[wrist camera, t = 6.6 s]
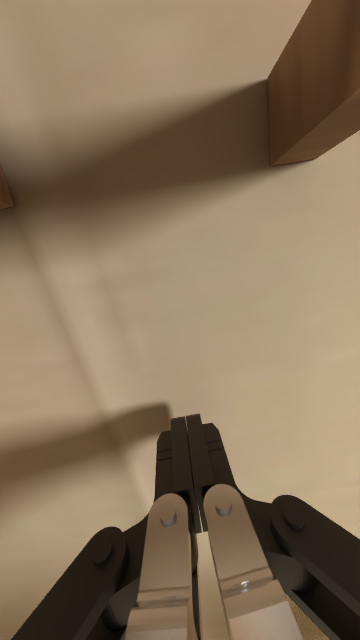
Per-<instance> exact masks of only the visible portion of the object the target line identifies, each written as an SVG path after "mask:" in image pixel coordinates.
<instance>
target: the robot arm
mask: <svg viewBox="0 0 360 640" xmlns="http://www.w3.org/2000/svg"><path fill="white" fill-rule="evenodd" d="M186 422H187V426H186ZM187 429H188V431H187ZM156 461H157V462H156V479H155V498H154V503H153V505H152V507H151V509H150V511H149V513H148V514H147V516H146V517H145V518H144V519H143V520H142V521H141V522H139V523H138V524H136V525H134V526H133V527H131V528H129V529H128V530H126V531H124V532H122V531H121V530H120V529H119V528H117V527H107V528H104V529H102V530H100V531H99V532H97V533H96V534H95V535H94V536H93V537H92V538H91V540H90V541H89V542H88V543H87V545H86V546H85V547H84V548H83V550H82V551H81V552H80V553H79V555H78V556H77V557H76V558H75V560H74V561H73V562H72V564H71V565H70V566H69V567H68V569H67V570H66V571H65V572H64V574H63V575H62V576H61V577H60V579H59V580H58V581H57V582H56V584H55V585H54V586H53V587H52V589H51V590H50V591H49V593H48V594H47V595H46V596H45V598H44V599H43V600H42V601H41V603H40V604H39V605H38V606H37V608H36V609H35V610H34V611H33V613H32V614H31V615H30V616H29V618H28V619H27V620H26V622H25V623H24V624H23V625H22V627H21V628H20V629H19V630H18V632H17V633H16V634H15V635H14V637H13V638H12V639H11V640H203V638H202V619H201V600H200V582H199V563H198V546H197V537H196V533H202V531H201V524H200V517H201V522H202V527H203V532H206V531H208V535H209V541H210V546H211V552H212V557H213V563H214V567H215V572H216V577H217V581H218V586H219V591H220V595H221V600H222V604H223V609H224V614H225V618H226V623H227V628H228V632H229V637H230V640H303V637H302V635H301V632H300V630H299V627H298V625H297V623H296V620H295V618H294V615H293V613H292V610H291V608H290V605H289V603H288V601H287V598H286V596H285V594H284V592H285V593H286V594H287V595H288V596H289V597H290V598H291V600H292V601H293V602H294V603H295V604H296V605H297V606H298V607H299V608H300V609H301V610H302V611H303V612H304V613H305V614H306V615H307V616H308V617H309V618H310V619H311V620H312V621H313V622H314V623H315V624H316V625H317V626H318V627H319V628H320V629H321V630H322V631H323V633H324V634H325V635H326V636H327V637H328V638H329V639H330V640H360V539H358V538H357V537H355V536H354V535H352V534H351V533H350V532H348V531H347V530H345V529H344V528H342V527H341V526H339V525H338V524H336V523H335V522H333V521H332V520H330V519H329V518H327V517H326V516H325V515H323V514H322V513H320V512H319V511H317V510H316V509H314V508H313V507H311V506H310V505H308V504H307V503H305V502H304V501H302V500H301V499H299V498H297V497H295V496H291V495H281V496H279V497H277V498H275V499H274V501H273V502H272V504H271V503H266V502H261V501H256V500H253V499H250V498H248V497H247V496H245V495H244V494H243V493H242V492H241V491H240V490H239V489H238V487H237V486H236V484H235V481H234V478H233V475H232V472H231V468H230V465H229V462H228V459H227V455H226V452H225V450H224V446H223V443H222V439H221V436H220V433H219V430H218V429H217V428H216V427H215V426H214V424H213V423H208V424H202V422H201V417H200V414H194V415H189V416H186V420H185V416H184V417H178V418H172V419H171V430H169V431H164V432H161V434H160V436H159V438H158V441H157V456H156ZM198 506H199V508H198ZM199 511H200V516H199Z"/></svg>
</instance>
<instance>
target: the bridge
mask: <svg viewBox="0 0 360 640" xmlns="http://www.w3.org/2000/svg"><path fill="white" fill-rule="evenodd" d="M268 103H269V133H270V164H271V166H274V165H280V164H286V163H292V162H299V161H305V160H311V159H316V158H318V157H319V156H321V155H322V154H324V153H325V152H327V151H328V150H330V149H332V148H333V147H335V146H336V145H338V144H339V143H341V142H342V141H344V140H345V139H347V138H348V137H350V136H351V135H353V134H354V133H356V132H357V131H359V130H360V0H312V1H311V3H310V4H309V6H308V8H307V10H306V11H305V13H304V15H303V17H302V18H301V20H300V22H299V24H298V25H297V27H296V29H295V31H294V32H293V34H292V36H291V38H290V39H289V41H288V43H287V45H286V46H285V48H284V50H283V52H282V53H281V55H280V57H279V59H278V61H277V62H276V64H275V66H274V68H273V69H272V71H271V73H270V75H269V76H268ZM9 207H15V206H14V203H13V200H12V197H11V194H10V191H9V188H8V185H7V183H6V180H5V177H4V174H3V171H2V168H1V165H0V209H2V208H9Z"/></svg>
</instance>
